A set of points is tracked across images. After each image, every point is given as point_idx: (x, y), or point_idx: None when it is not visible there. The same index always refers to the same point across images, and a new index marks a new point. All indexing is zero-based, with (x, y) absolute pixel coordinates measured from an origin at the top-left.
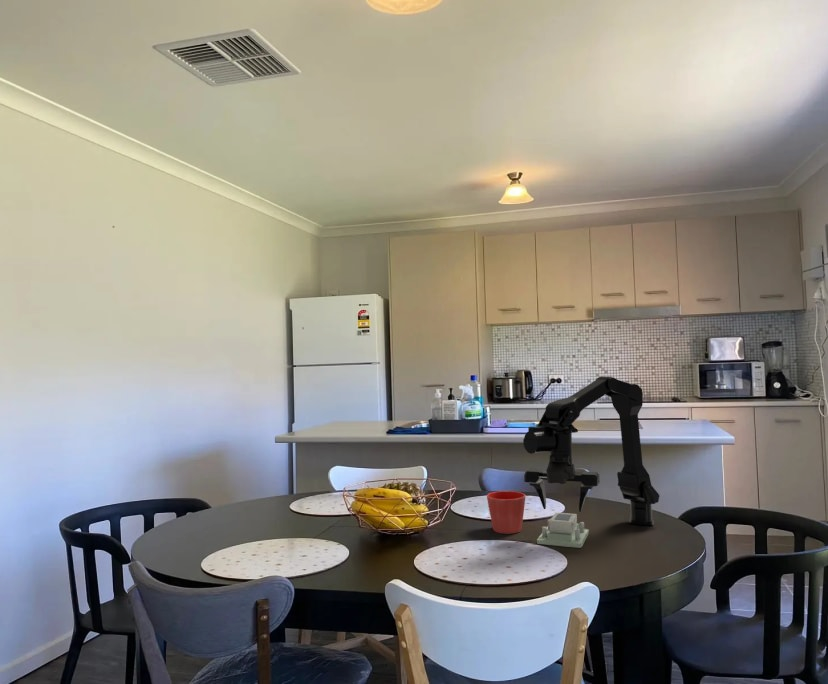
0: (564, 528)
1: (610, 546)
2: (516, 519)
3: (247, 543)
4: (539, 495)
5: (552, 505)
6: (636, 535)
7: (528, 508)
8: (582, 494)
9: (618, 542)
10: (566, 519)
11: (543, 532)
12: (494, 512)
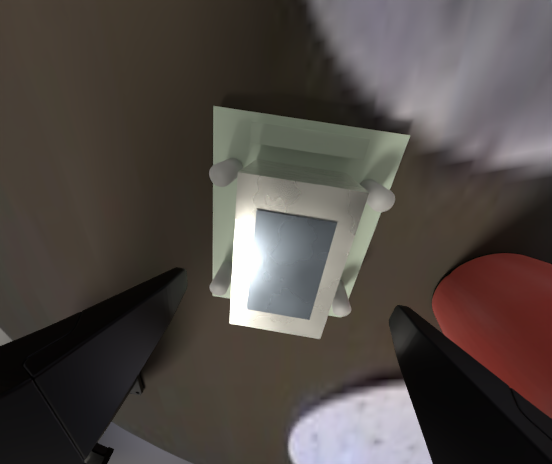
0: (281, 171)
1: (124, 157)
2: (506, 291)
3: None
4: (527, 403)
5: (314, 457)
6: (92, 283)
7: (371, 445)
8: (21, 359)
9: (115, 210)
10: (267, 222)
11: (380, 184)
12: None
